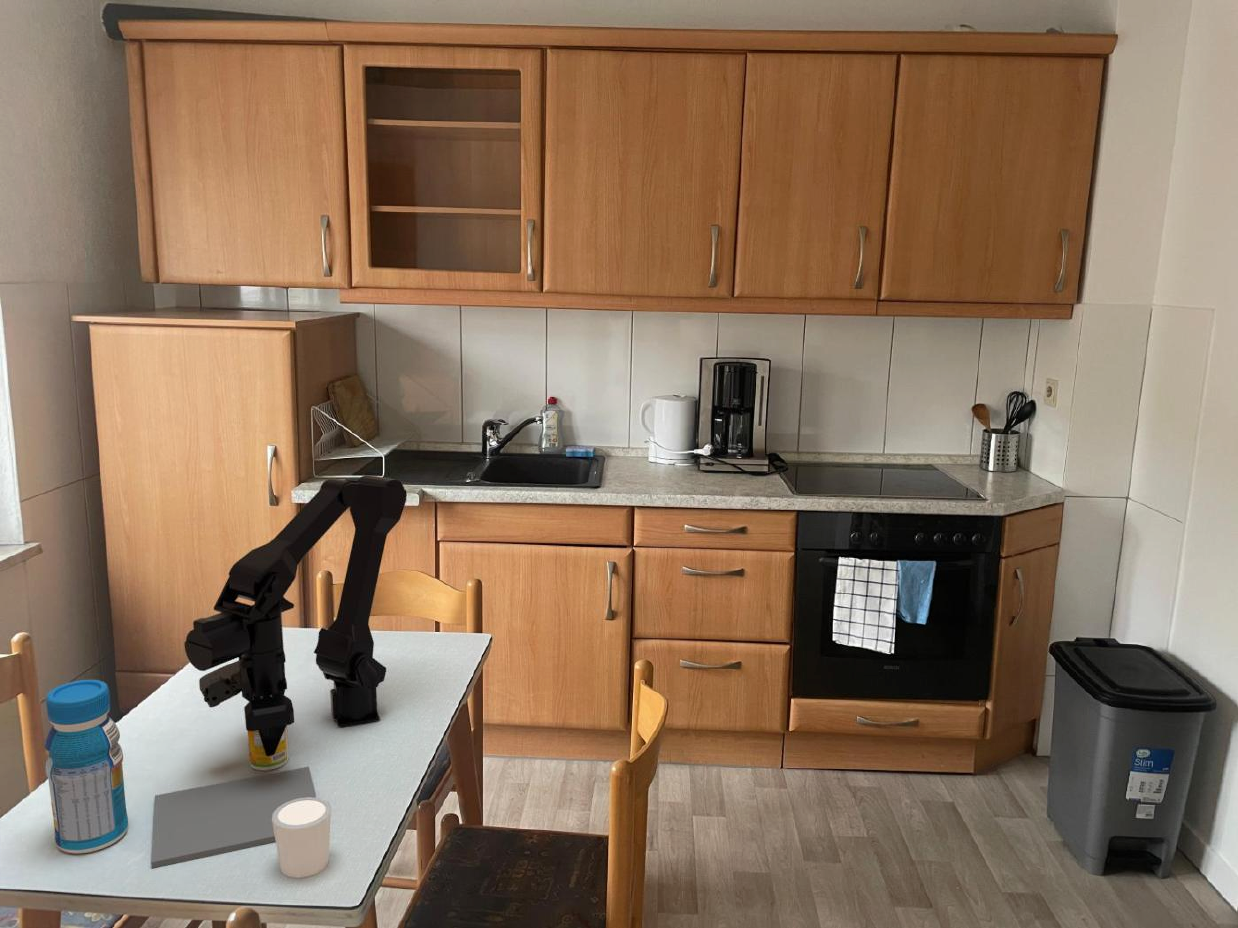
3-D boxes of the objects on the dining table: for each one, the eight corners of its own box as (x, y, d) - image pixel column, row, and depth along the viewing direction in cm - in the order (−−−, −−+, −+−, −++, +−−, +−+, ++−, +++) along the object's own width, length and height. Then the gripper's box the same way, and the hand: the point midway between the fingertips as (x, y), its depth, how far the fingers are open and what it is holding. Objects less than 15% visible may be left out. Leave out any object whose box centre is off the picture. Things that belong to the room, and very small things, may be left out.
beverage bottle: (78, 864, 116) (61, 711, 112) (40, 841, 120) (23, 694, 116) (144, 830, 123) (130, 685, 119) (106, 810, 127) (91, 670, 123)
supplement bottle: (255, 753, 143) (251, 692, 141) (292, 752, 143) (289, 691, 141) (245, 772, 137) (240, 709, 135) (283, 770, 138) (279, 708, 136)
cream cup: (279, 887, 112) (276, 833, 111) (271, 855, 118) (267, 804, 117) (339, 871, 115) (336, 818, 114) (328, 840, 121) (325, 791, 120)
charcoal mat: (309, 771, 138) (308, 766, 138) (323, 831, 123) (323, 825, 123) (155, 800, 130) (154, 795, 130) (151, 868, 115) (151, 862, 115)
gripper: (199, 630, 142) (207, 727, 145) (201, 680, 125) (210, 789, 128) (279, 620, 146) (284, 715, 149) (291, 667, 129) (297, 772, 133)
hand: (268, 746), depth 140 cm, fingers closed on supplement bottle, 5 cm apart
